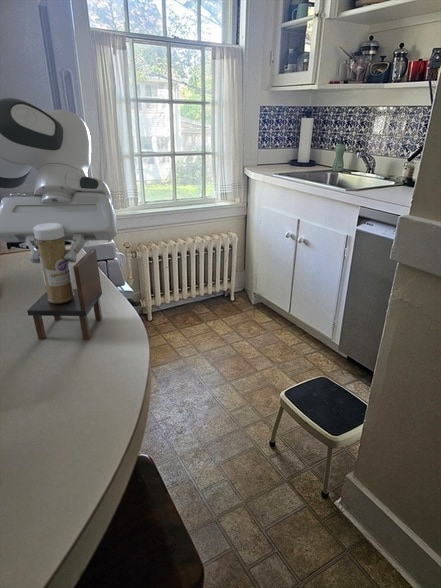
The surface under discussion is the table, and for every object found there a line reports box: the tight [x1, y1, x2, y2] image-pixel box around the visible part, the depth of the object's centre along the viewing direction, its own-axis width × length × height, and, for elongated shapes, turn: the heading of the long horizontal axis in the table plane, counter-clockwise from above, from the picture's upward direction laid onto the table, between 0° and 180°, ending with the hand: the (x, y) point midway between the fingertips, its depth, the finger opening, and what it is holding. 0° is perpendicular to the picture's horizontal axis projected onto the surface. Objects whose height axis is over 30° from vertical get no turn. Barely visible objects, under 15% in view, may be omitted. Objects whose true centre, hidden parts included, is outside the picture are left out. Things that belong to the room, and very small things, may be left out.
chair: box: [26, 248, 103, 341], centre depth 70 cm, size 10×9×14 cm
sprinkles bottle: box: [33, 223, 74, 304], centre depth 67 cm, size 5×5×14 cm
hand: (53, 261), depth 66 cm, fingers closed on sprinkles bottle, 4 cm apart
